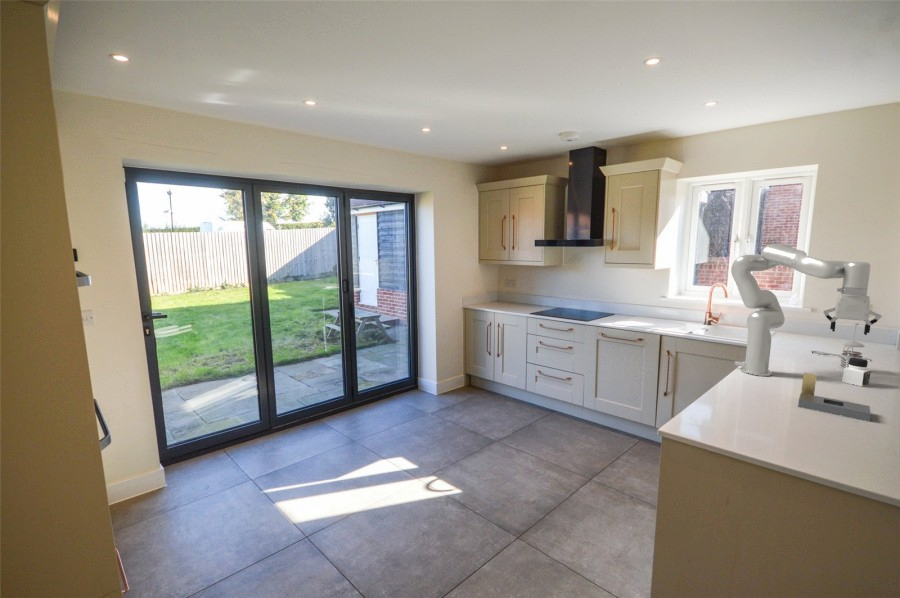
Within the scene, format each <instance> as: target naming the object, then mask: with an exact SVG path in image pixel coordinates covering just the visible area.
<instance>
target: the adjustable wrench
mask: <svg viewBox="0 0 900 598" xmlns="http://www.w3.org/2000/svg"><path fill="white" fill-rule="evenodd" d="M811 352H813V353H812V354H813V355H814V354H818V355H817V356H820V355H833V356H840V357H839V358H841V357H842V356H841V354H838V353H829V352H824V351H819V350H818V351H817V350H811ZM811 352H810V353H811ZM833 356H832V357H833ZM862 359H865V360H871V361H872V359H871V358H869V357H863V358H862Z"/></svg>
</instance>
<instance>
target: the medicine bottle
mask: <svg viewBox="0 0 900 598" xmlns="http://www.w3.org/2000/svg"><path fill="white" fill-rule="evenodd" d="M868 362H869V361H867V360H865V359H862V358H850V359H849V367H846V368H844V371H843V373H842V380H841V381H842V383H843V382H844V384H847V383H849V385H852V384H854V385H853V386H856V385H858V386H857V387H860V386H863V387H865V385H866V386H869V385H870V379H871V378H870V377H871V372H872V371H871V369H869V368H868V364H869V363H868ZM867 368H868V369H867Z"/></svg>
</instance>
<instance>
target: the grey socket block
mask: <svg viewBox="0 0 900 598" xmlns="http://www.w3.org/2000/svg"><path fill="white" fill-rule="evenodd" d="M797 407H798V408H802V407H803V408H802V409H807V410H812V409H813V410H812V411H816V410H819V411H818V412H821V411H823V412H822V413H826V412H828V413H827V414H831V413H832V414H831V415H836V416H840V415H842V417H845V416H846V418H850V417H852V418H851V419H855V418H856V419H857V420H860V419H861V421H864V420H866V421H865V422H869V421H870V420H871V405H867V404H860V403H855V402H852V401H851V402H849V401H846V400H845V401H844V400H840V399H834V398H830V397H829V398H828V397H825V396H820V395H815V394H814V395H809V394H804V393H801V392H800V394H799V398H798V403H797ZM870 422H871V421H870Z"/></svg>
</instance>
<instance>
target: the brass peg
mask: <svg viewBox="0 0 900 598" xmlns="http://www.w3.org/2000/svg"><path fill="white" fill-rule="evenodd" d="M802 376H803V377H802V384H801V392H800V394H801V393H804V394H809V395H814V396H815V392H816V391H815V389H816V385H817V383H816V382H817V376H818V375H817V374H815V373H809V372H806V371H805V372H803V375H802Z"/></svg>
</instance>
